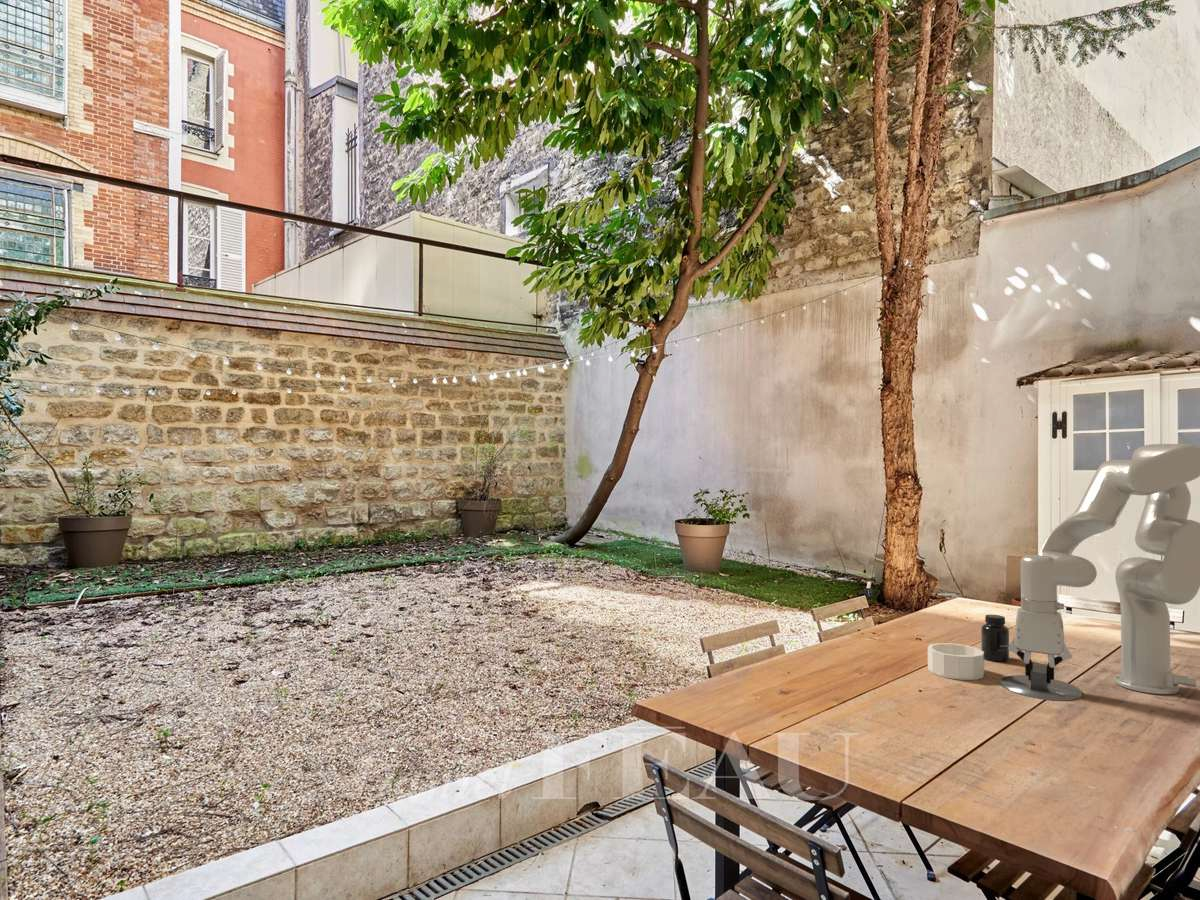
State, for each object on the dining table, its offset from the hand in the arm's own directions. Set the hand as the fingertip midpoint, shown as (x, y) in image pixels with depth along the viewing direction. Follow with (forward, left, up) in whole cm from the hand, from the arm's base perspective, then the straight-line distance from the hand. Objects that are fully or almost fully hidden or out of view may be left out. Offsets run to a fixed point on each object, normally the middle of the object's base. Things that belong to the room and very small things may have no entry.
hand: (1039, 679), depth 169 cm
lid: (0, 0, -2) cm, 2 cm away
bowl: (+19, -2, -2) cm, 19 cm away
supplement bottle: (+12, -21, -2) cm, 24 cm away
